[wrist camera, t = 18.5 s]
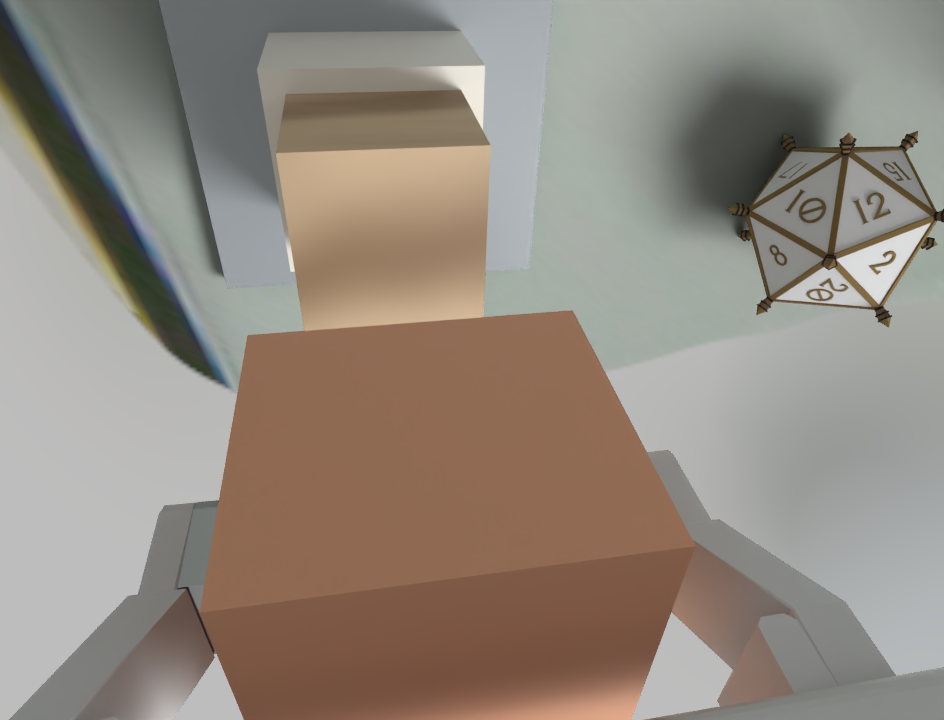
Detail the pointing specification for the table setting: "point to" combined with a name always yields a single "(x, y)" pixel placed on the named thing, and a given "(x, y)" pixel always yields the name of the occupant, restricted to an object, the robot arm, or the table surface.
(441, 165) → the oak brick
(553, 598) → the terracotta brick
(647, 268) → the table surface
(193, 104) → the baseplate
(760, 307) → the game die
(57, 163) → the table surface
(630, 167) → the table surface
